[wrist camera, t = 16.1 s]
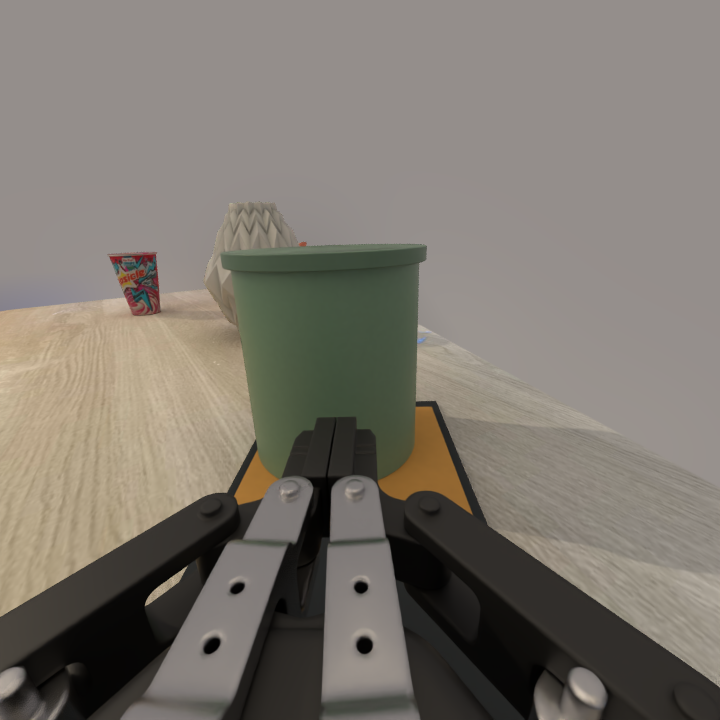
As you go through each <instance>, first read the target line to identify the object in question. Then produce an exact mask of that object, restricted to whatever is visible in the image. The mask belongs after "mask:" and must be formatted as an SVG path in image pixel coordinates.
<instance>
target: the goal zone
mask: <svg viewBox="0 0 720 720" xmlns="http://www.w3.org/2000/svg"><path fill="white" fill-rule="evenodd" d="M277 480H279V479H278V478H276V477H275V476H274V475H272V474H271V473H270V472H269V471H268V470H267V469H266V468H265V467H264V466H263V464H262V463H261V461H260V458H259V455H258V450H257V452H256V454H255V456H254V458H253V460H252V462H251V463H250V465H249V467H248V469H247V471H246V473H245V475H244V477H243V479H242V481H241V483H240V485H239V487H238V489H237V491H236V493H235V495H234V497H235V498H236V499H237V503H238V505H240V504H244V503H248V502H252V501H256V500H259V499H261V498H263V497H264V495H265V493H266V491H267V489H268V488H269V487H270V485H272V484H273V483H274V482H276V481H277ZM378 484H379V487H380V488H381V490H382V491H383V492H385V493H386V494H387V495H389V496H391V497H394V498H397V499H401V500H406V499H407V498H408V496H410V495H411V494H413V493H415V492H418V491H434V492H438V493H440V494H443V495H444V496H446V497H447V498H449V499H450V500H452V501H453V502H455V503H456V504H457V505H459V506H460V507H462V508H463V509H465V510H466V511H468V512H469V513H470V514H472V512H471V509H470V506H469V504H468V501H467V498H466V496H465V493H464V491H463V488H462V485H461V483H460V480H459V477H458V475H457V472H456V470H455V467H454V464H453V462H452V459H451V456H450V454H449V451H448V448H447V446H446V443H445V441H444V438H443V435H442V433H441V430H440V427H439V425H438V422H437V419H436V417H435V414H434V412H433V409H432V407H416V410H415V443H414V448H413V451H412V453H411V455H410V457H409V458H408V460H407V461H406V462H405V463H404V464H403V465H402V466H401V467H400V468H398V469H397V470H396V471H395V472H393V473H391V474H389V475H388V476H386V477H384V478H382V479H379V480H378ZM472 515H473V514H472Z"/></svg>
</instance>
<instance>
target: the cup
mask: <svg viewBox="0 0 720 720" xmlns="http://www.w3.org/2000/svg"><path fill="white" fill-rule="evenodd" d="M156 254H157V253H156V252H139V253H138V252H137V253H119V254H108V256H109V257H110V259H111V262H112V265H113V267H114V270H115V272H116V275H117V277H118V280H119V283H120V285H121V288H122V290H123V293H124V295H125V297H126V300H127V302H128V304H129V307H130V309H131V311H132V314H133V315H149V314H155V313H158V312H160V311H161V310H160V297H159V284H158V272H157V264H156Z"/></svg>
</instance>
